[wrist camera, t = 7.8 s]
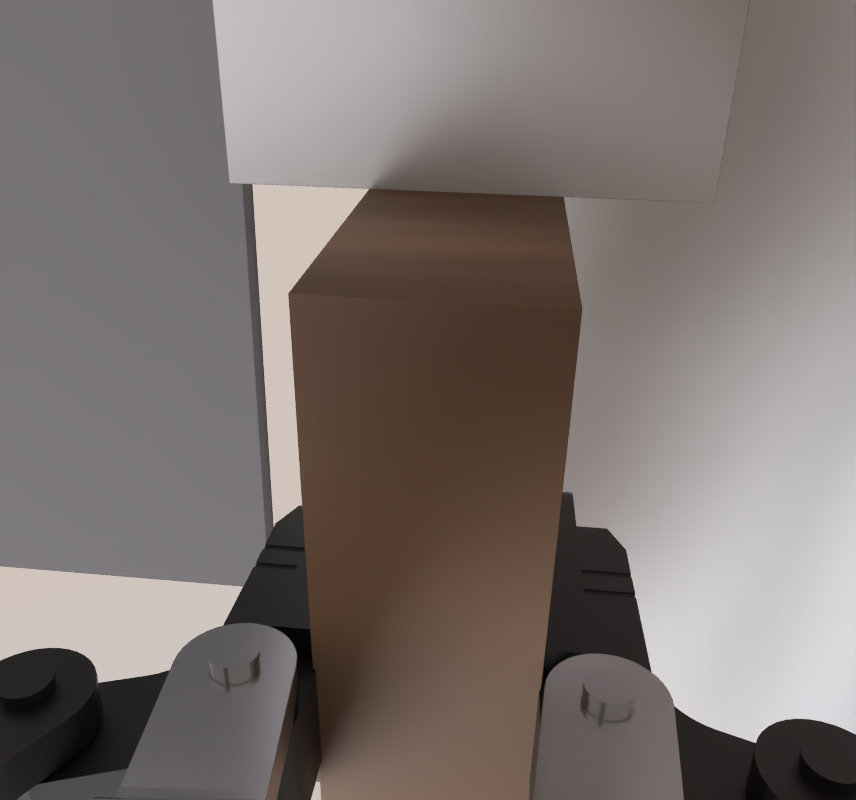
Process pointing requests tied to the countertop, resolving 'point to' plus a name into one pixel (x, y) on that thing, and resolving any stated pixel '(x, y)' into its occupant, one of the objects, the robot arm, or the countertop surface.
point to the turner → (452, 331)
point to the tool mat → (126, 300)
